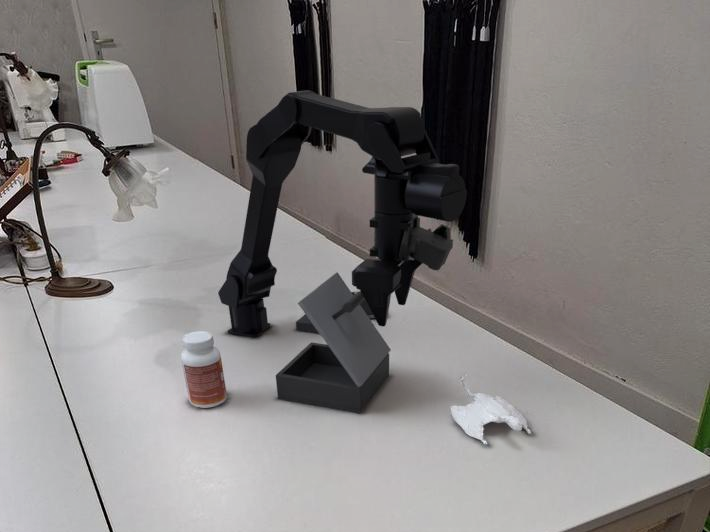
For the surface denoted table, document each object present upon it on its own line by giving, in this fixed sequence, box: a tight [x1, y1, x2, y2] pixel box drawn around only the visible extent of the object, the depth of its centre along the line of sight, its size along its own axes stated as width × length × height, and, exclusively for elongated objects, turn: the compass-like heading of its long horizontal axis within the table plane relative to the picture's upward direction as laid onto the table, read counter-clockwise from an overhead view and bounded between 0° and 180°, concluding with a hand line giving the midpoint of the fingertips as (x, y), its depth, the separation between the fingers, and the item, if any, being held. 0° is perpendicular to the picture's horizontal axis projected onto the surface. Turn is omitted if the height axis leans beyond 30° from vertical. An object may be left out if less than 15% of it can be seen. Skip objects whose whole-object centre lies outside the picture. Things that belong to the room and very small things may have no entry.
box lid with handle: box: [297, 272, 392, 387], centre depth 101 cm, size 15×14×5 cm
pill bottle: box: [180, 330, 228, 409], centre depth 104 cm, size 6×6×11 cm
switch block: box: [295, 313, 319, 334], centre depth 130 cm, size 10×8×4 cm
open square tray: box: [275, 341, 390, 414], centre depth 108 cm, size 15×14×4 cm
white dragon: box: [450, 374, 532, 446], centre depth 99 cm, size 18×10×4 cm, turn 21°
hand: (392, 314), depth 102 cm, fingers open, 9 cm apart
